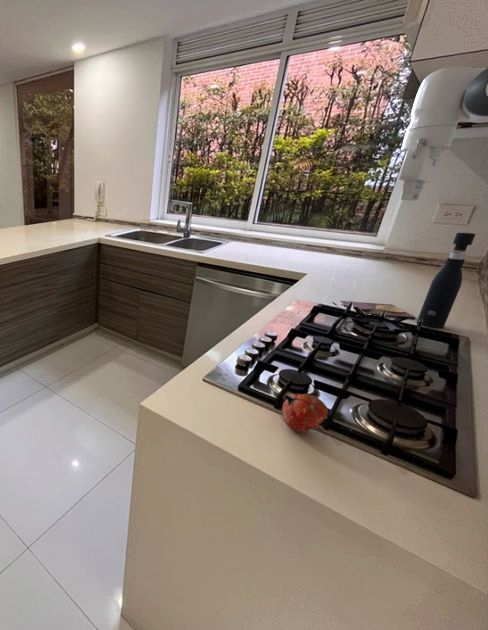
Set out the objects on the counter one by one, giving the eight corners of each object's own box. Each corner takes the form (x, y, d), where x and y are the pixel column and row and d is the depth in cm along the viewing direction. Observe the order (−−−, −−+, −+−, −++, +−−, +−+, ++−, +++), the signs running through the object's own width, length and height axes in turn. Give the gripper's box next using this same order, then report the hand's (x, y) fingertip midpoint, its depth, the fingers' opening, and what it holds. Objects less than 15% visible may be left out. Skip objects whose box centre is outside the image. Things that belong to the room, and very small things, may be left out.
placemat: (391, 306, 130) (392, 303, 130) (414, 319, 118) (415, 315, 117) (331, 302, 136) (332, 299, 135) (346, 313, 123) (347, 310, 123)
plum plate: (364, 304, 130) (365, 302, 130) (376, 311, 122) (377, 309, 122) (337, 302, 133) (337, 300, 133) (347, 309, 125) (348, 307, 125)
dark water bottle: (437, 323, 114) (474, 232, 104) (447, 329, 109) (487, 235, 98) (412, 320, 117) (446, 231, 106) (421, 326, 111) (457, 234, 101)
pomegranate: (312, 429, 68) (273, 391, 70) (348, 416, 63) (305, 375, 65) (305, 453, 63) (264, 411, 66) (343, 441, 58) (297, 396, 60)
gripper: (439, 135, 76) (419, 199, 80) (449, 144, 88) (432, 200, 92) (401, 139, 81) (384, 200, 85) (416, 147, 93) (400, 200, 97)
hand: (409, 200), depth 89 cm, fingers open, 8 cm apart
